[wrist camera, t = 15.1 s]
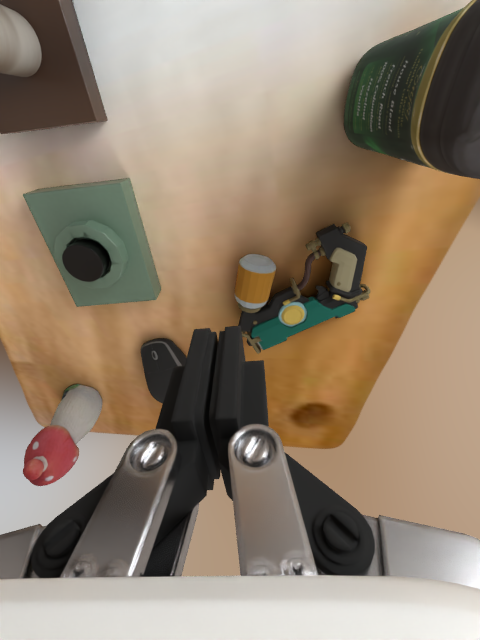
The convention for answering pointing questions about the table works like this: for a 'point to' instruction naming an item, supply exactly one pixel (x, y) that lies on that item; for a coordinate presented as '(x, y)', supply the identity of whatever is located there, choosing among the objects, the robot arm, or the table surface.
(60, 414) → the decorative ornament
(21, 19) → the dial
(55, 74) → the dial panel
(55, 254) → the green push button panel
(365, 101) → the coffee jar
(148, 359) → the computer mouse
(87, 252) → the button
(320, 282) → the table surface
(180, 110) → the table surface
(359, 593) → the robot arm
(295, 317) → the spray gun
